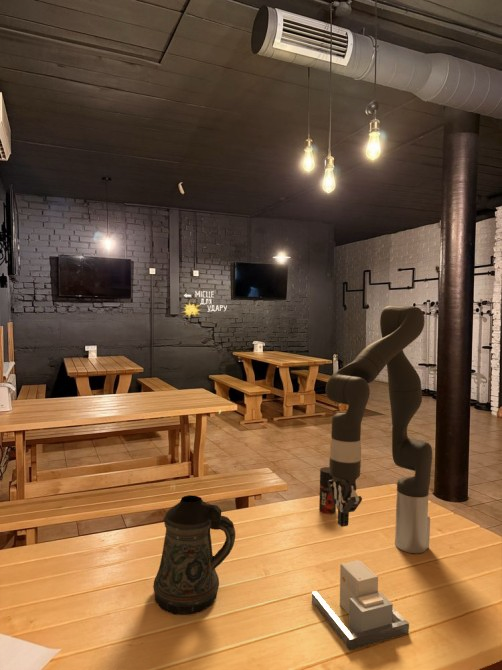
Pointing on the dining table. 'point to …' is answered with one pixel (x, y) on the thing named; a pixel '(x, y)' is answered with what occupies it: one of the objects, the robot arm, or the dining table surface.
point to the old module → (369, 612)
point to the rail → (365, 637)
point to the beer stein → (191, 557)
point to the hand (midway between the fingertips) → (342, 524)
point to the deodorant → (326, 493)
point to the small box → (355, 582)
